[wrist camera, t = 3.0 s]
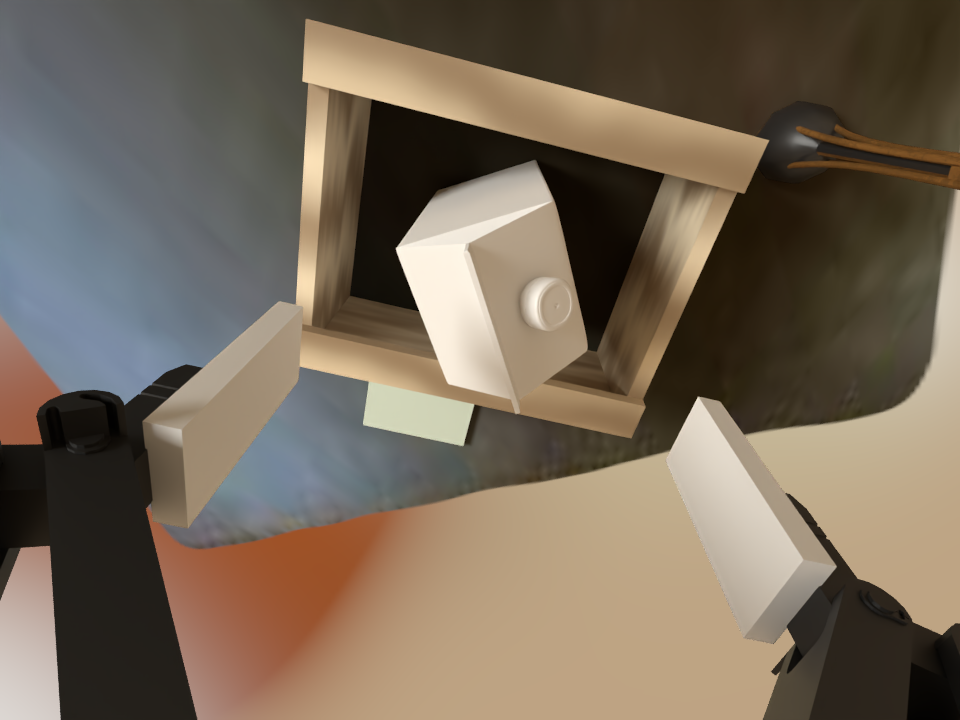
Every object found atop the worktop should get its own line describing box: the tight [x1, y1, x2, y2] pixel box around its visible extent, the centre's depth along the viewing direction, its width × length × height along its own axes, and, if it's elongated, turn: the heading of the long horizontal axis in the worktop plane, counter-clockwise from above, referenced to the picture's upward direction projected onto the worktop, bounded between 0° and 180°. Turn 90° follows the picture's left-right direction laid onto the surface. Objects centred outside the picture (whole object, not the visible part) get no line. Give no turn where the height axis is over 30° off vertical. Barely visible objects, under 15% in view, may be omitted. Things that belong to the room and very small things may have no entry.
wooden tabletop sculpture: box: [756, 101, 960, 190], centre depth 23 cm, size 6×5×20 cm
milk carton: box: [396, 160, 588, 414], centre depth 27 cm, size 7×7×19 cm
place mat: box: [363, 382, 474, 446], centre depth 42 cm, size 9×9×1 cm
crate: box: [296, 19, 769, 438], centre depth 31 cm, size 18×22×10 cm
